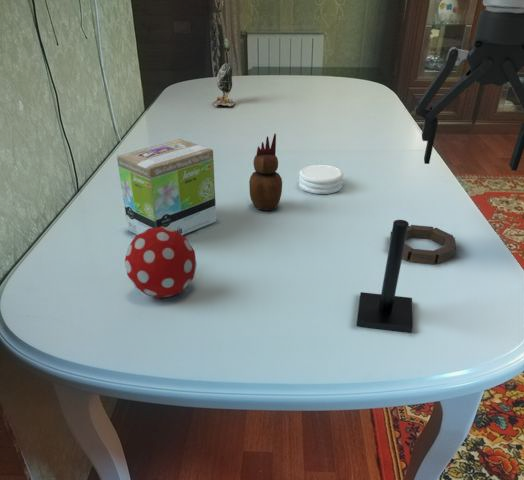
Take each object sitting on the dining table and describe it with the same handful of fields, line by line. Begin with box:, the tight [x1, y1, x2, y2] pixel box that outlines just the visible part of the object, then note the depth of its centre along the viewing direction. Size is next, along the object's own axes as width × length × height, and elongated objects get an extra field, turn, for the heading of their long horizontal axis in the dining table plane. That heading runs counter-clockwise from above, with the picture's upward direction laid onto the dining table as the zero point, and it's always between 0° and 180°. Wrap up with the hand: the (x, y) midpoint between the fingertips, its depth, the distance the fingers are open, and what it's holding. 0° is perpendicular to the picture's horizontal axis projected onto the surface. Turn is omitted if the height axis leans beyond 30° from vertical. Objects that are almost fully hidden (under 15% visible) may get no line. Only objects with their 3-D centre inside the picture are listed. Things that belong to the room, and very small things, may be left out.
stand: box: [355, 219, 414, 333], centre depth 73 cm, size 8×8×15 cm
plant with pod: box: [212, 37, 236, 107], centre depth 169 cm, size 8×11×20 cm
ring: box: [388, 224, 458, 265], centre depth 93 cm, size 12×12×2 cm
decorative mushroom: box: [124, 227, 197, 299], centre depth 82 cm, size 11×11×15 cm
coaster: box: [298, 164, 344, 195], centre depth 116 cm, size 10×10×4 cm
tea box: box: [116, 138, 217, 236], centre depth 96 cm, size 15×10×15 cm, turn 137°
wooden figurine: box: [248, 133, 283, 211], centre depth 103 cm, size 7×6×15 cm
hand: (469, 164), depth 83 cm, fingers open, 13 cm apart
